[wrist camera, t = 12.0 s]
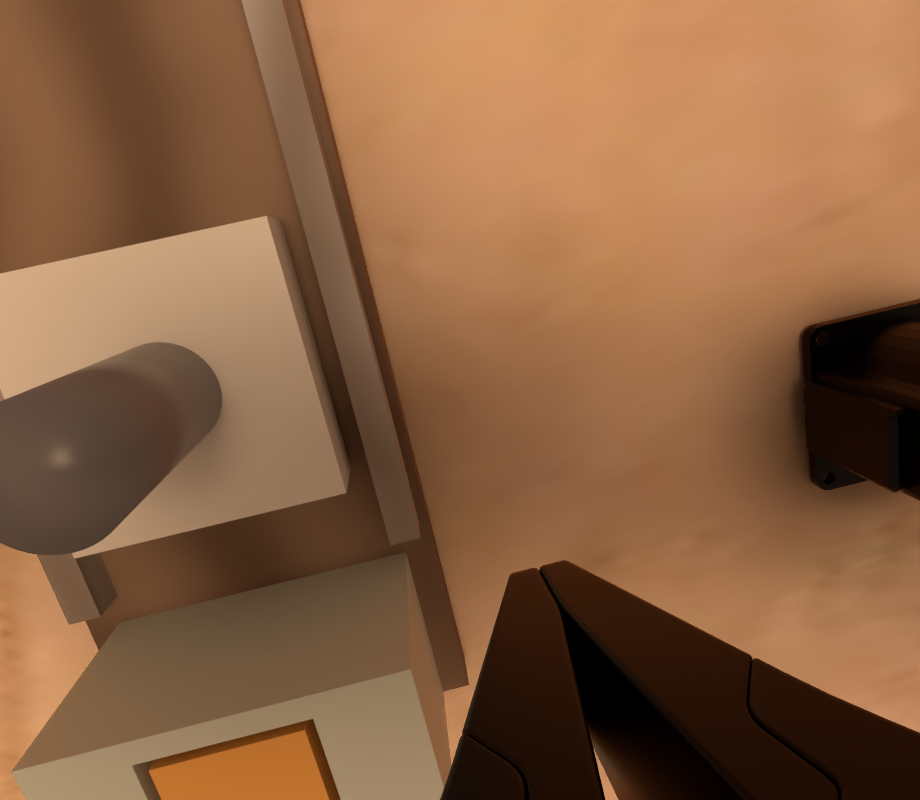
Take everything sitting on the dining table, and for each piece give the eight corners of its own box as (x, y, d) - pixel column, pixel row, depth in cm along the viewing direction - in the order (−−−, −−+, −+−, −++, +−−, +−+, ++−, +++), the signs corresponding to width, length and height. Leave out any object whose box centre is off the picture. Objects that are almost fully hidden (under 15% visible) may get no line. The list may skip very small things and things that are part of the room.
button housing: (406, 551, 21) (410, 669, 15) (442, 691, 23) (460, 845, 17) (119, 622, 20) (11, 771, 15) (177, 760, 22) (101, 943, 16)
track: (265, -140, 17) (241, -209, 14) (464, 658, 24) (473, 708, 21) (-174, -56, 16) (-282, -113, 14) (166, 734, 23) (137, 796, 21)
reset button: (326, 613, 20) (305, 730, 15) (356, 709, 21) (345, 846, 16) (207, 643, 20) (148, 770, 15) (244, 738, 21) (200, 885, 16)
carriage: (280, 218, 18) (191, 199, 10) (351, 468, 20) (323, 613, 12) (3, 279, 17) (-315, 308, 9) (106, 527, 19) (-85, 716, 12)
